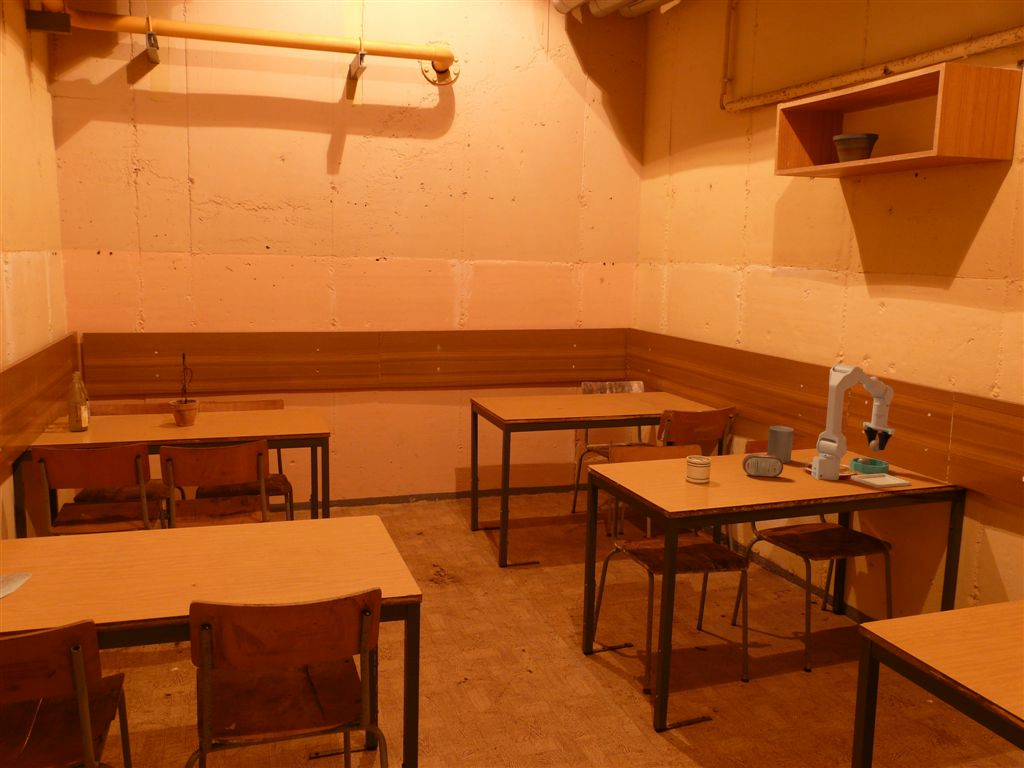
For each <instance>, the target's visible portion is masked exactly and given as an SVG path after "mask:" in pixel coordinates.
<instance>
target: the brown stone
mask: <svg viewBox="0 0 1024 768" xmlns="http://www.w3.org/2000/svg"><path fill="white" fill-rule="evenodd" d="M869 449H870V450H871V451H872V452H874V453H878V452H881V451H882V450H879V439H875V440H873V441H871V443H870V447H869Z"/></svg>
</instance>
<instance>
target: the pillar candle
mask: <svg viewBox="0 0 1024 768" xmlns="http://www.w3.org/2000/svg"><path fill="white" fill-rule="evenodd" d="M794 430H795V429H794V428H792V427H789V426H783V424H781V425H771V426H769V429H768V441H767V450H766V455H774V456H777V457H779V458H780V459H781V461H782V463H783V464H789V463H791V461H792V450H793V449H792V448H793V441H794Z"/></svg>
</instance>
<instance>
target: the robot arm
mask: <svg viewBox="0 0 1024 768" xmlns="http://www.w3.org/2000/svg"><path fill="white" fill-rule="evenodd" d="M858 383H861V384H862V385H863V388H864V389H865V390H866V391H867V392H868V393H870V396H871V398H872V399H873V404H872V414H871V422H868V421H863V424H862V427H863V428H864V434H865V435H866V438H867V444H868V447H869V448H870V443H871V441H873V440H877V437H878V440H879V450H881V451H885V449H886V446H887V444H888V442H889V440H890V439H891V438H892V436H893V435H895V431H896V429H894V428H892V427H889V425H888V419H889V410H890V409H889V407H890V405H891V404H892V399H893V397H894V395H895V393H894V389H893V387H891V386H890V385H886V384H885V383H884V382H883V381H881V380H879V377H878V376H869V375H868V374H867V373H865V371H864V370H863V368H861V367H859V366H853V365H848V364H841V363H836V364H833V366H832V367H831V368H830V370H829V379H828V385H829V386H828V387H829V388H828V396H827V397H828V400H827V410H826V411H827V412H826V425H825V430H824V431H823V432H821V433H819V435H818V440H817V442H816V447H815V448H816V451H817V452H818V456H817V455H816V456H814V457H813V459H812V463H811V474H810V476H811V477H812V478H813V479H815V480H816V481H818V480H829V481H833V480H834V481H835V480H836V481H837V480H839V479H840V478H839V477H840V470H841V469H840V468H841V459H843V457H844V456H846V454H847V451H848V447H847V437H846V436H845V435H844V434H843V432H842V423H843V422H842V420H843V411H844V398H845V392H846V390H847V389H850V388H852V387H853V386H855V385H857V384H858Z"/></svg>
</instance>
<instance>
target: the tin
mask: <svg viewBox="0 0 1024 768" xmlns="http://www.w3.org/2000/svg"><path fill="white" fill-rule="evenodd" d="M741 462H742V464H741V465H742V467H741V468H742V470H743V471H744V472H745V474H747V475H748V476H751V477H758V478H759V477H761V478H763V477H764V478H777V477H780V475H781V474H782V473H783V470H784V463H782V461H781V459H780V458H779V457H777V456H774V455H767V454H759V453H751V454H748V455H747V456H745V457H744V459H743V460H742V461H741Z"/></svg>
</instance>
